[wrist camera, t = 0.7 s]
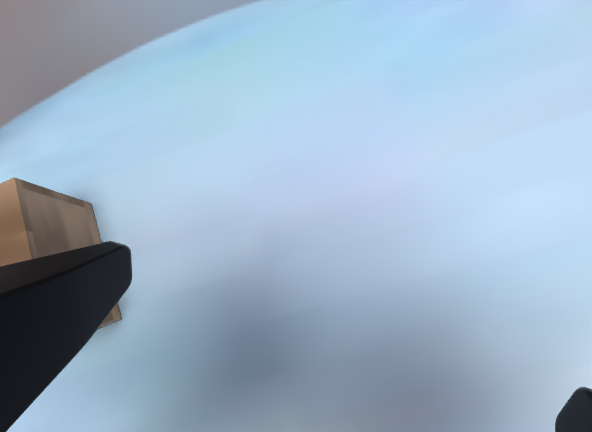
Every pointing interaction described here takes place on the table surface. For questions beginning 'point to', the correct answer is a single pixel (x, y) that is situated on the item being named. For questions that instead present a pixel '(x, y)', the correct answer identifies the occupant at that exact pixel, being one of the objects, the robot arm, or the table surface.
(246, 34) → the table surface
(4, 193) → the wooden box
